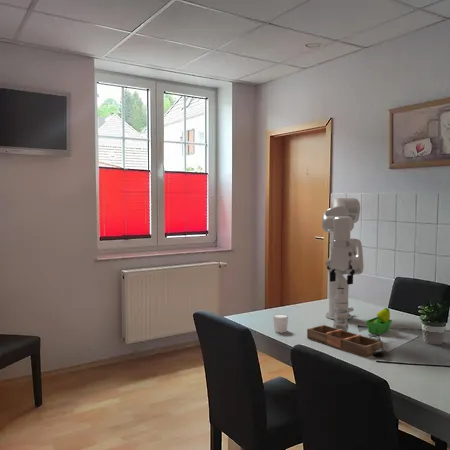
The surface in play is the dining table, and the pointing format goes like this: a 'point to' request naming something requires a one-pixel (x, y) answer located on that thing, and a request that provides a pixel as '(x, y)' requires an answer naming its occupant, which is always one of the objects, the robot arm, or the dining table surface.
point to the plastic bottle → (340, 310)
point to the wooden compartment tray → (344, 340)
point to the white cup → (280, 323)
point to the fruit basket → (380, 322)
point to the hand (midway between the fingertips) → (341, 282)
